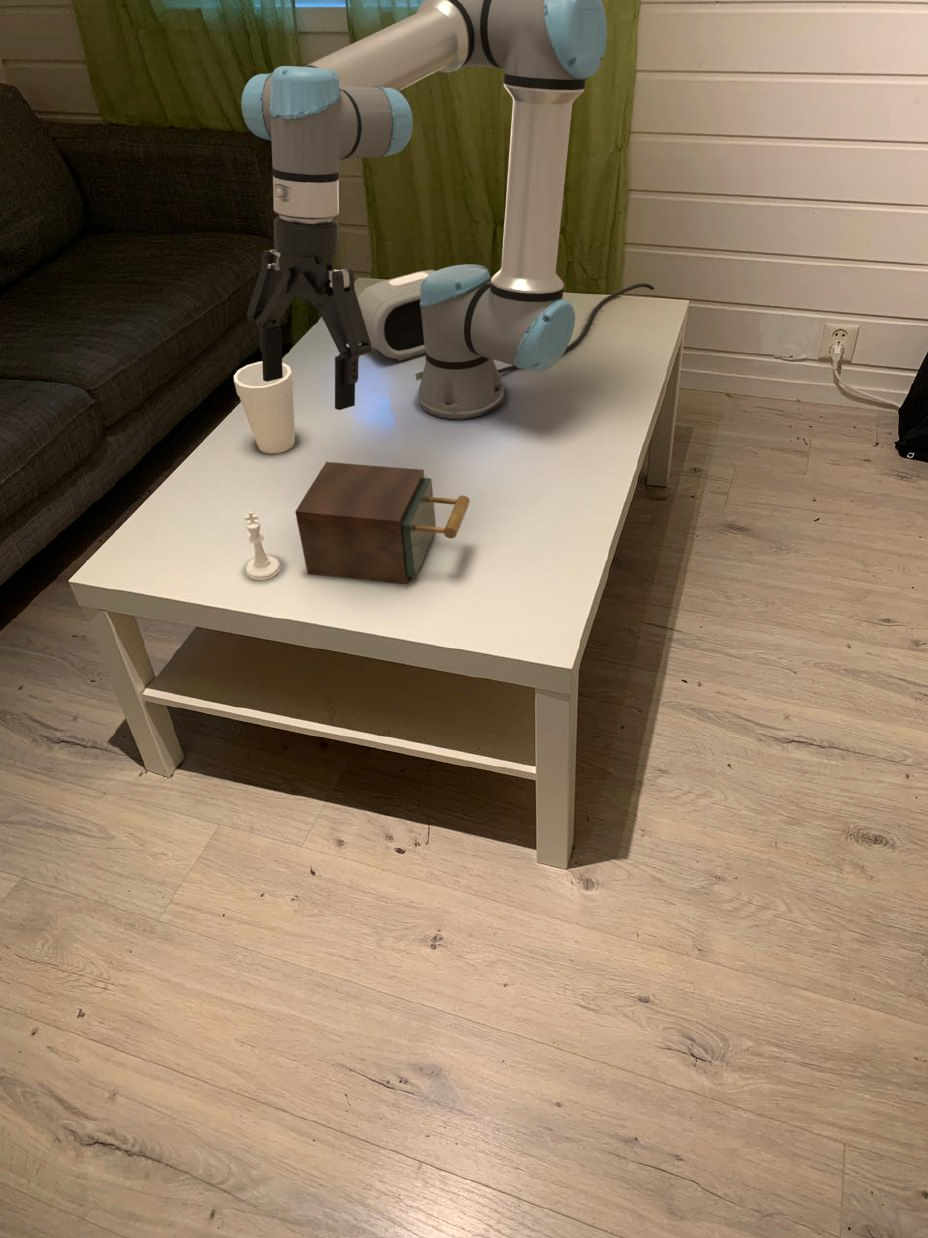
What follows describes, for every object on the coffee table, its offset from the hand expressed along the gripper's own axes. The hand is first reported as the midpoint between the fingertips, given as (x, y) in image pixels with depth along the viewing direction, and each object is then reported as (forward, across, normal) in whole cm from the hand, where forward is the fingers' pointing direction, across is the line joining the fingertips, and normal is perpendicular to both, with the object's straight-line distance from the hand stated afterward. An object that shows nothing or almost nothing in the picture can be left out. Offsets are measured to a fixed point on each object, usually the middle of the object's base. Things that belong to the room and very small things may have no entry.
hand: (307, 392), depth 129 cm
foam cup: (+22, -32, +22) cm, 45 cm away
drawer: (+24, +7, +11) cm, 27 cm away
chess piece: (+28, -7, -2) cm, 29 cm away
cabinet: (+25, +2, +10) cm, 27 cm away
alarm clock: (+14, -38, +62) cm, 74 cm away
